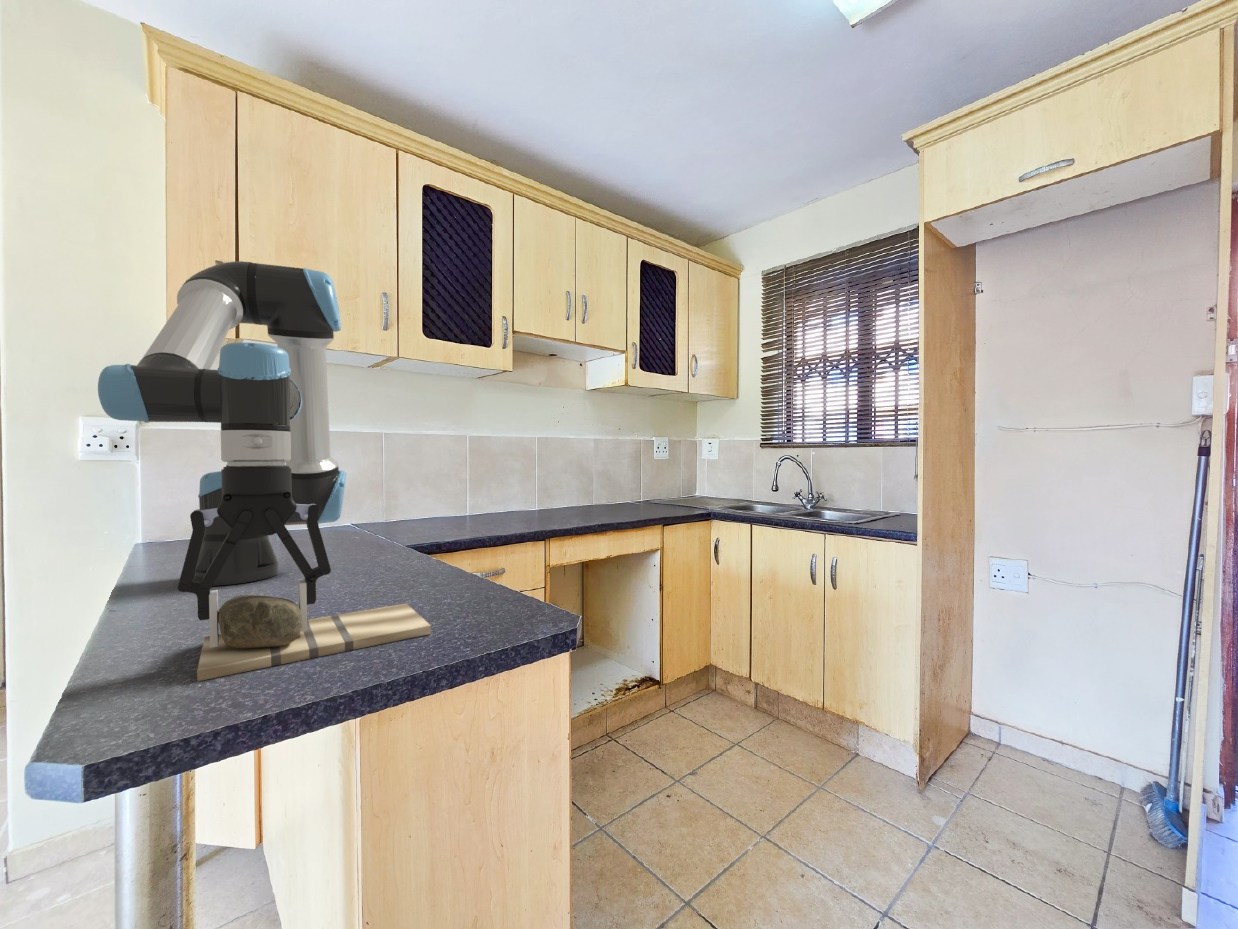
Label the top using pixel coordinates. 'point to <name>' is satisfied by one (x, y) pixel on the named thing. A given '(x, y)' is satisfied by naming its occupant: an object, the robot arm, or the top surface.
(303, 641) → the board
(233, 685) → the top surface
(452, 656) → the top surface
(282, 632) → the stone
